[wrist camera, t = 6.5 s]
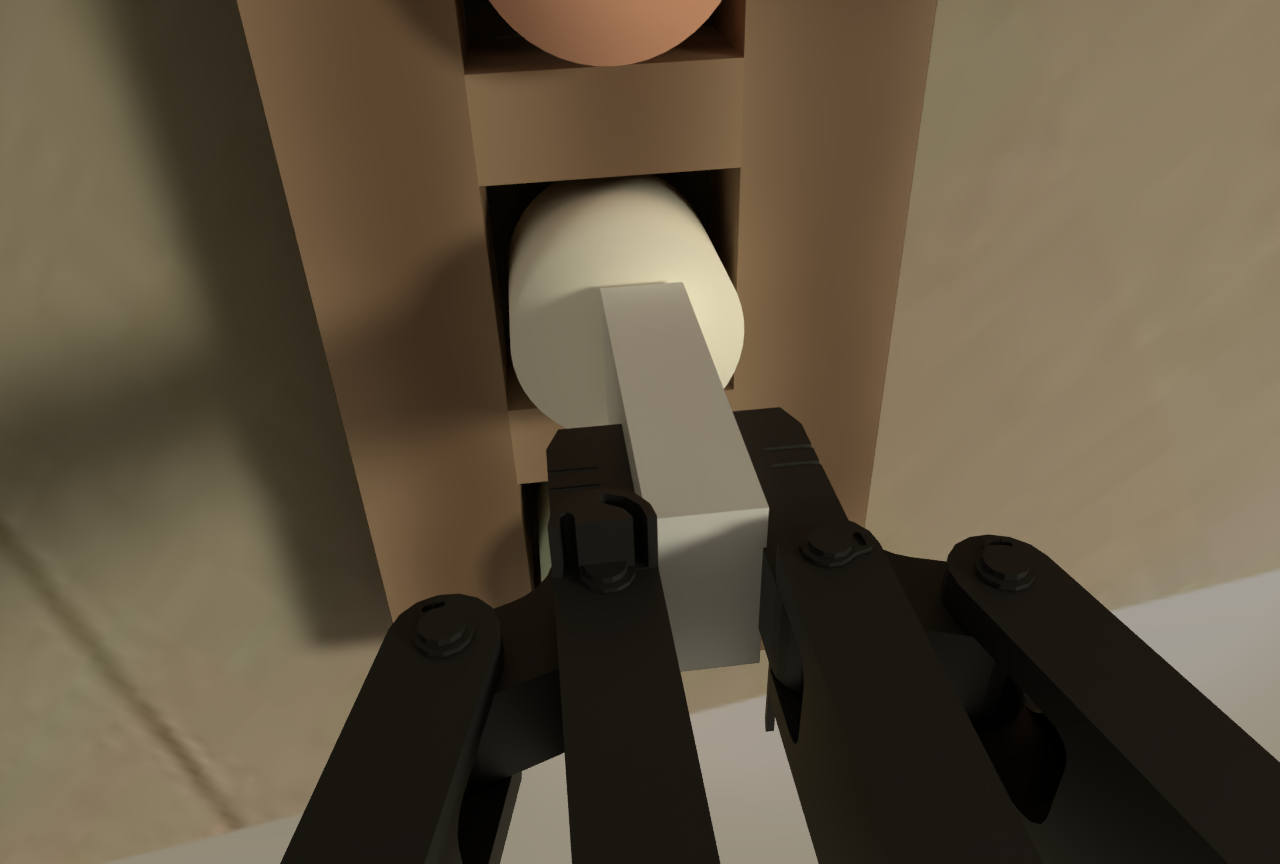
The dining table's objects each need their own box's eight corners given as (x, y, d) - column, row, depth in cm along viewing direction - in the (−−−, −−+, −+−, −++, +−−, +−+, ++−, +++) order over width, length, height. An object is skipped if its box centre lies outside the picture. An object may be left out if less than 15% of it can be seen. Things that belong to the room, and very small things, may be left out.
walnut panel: (418, 611, 27) (410, 693, 25) (191, -383, 15) (130, -422, 12) (817, 566, 28) (848, 639, 26) (918, -394, 16) (997, -432, 13)
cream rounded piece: (518, 362, 21) (522, 450, 18) (496, 173, 19) (497, 240, 16) (706, 345, 22) (740, 429, 19) (709, 158, 19) (748, 221, 16)
